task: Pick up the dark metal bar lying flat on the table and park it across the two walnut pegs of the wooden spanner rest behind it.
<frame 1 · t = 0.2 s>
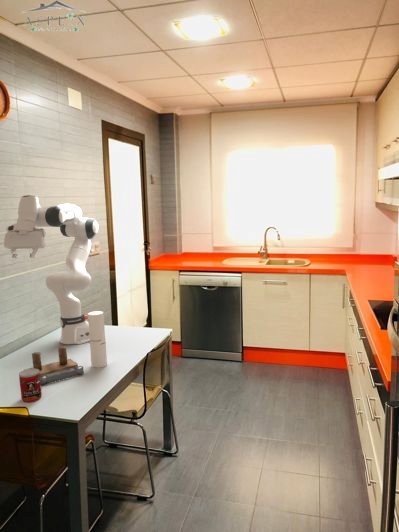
hand: (23, 257, 209), 52 cm above the table, tool tilted 20°, fingers open, 8 cm apart
canned food: (31, 398, 180), on the table
spanner rest: (51, 369, 210), on the table
metal bar: (61, 378, 199), on the table
cylindrical container: (99, 364, 214), on the table
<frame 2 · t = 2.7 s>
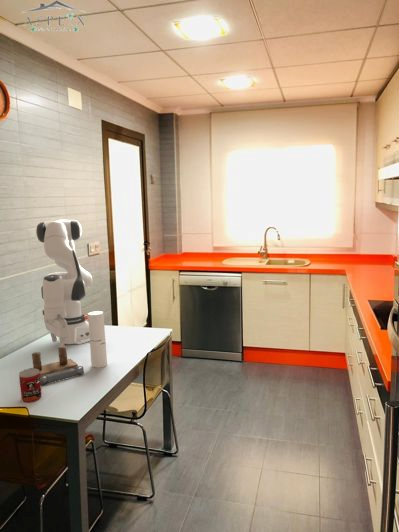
hand: (58, 344, 196), 16 cm above the table, tool pointing down, fingers open, 8 cm apart
nothing on the table moved.
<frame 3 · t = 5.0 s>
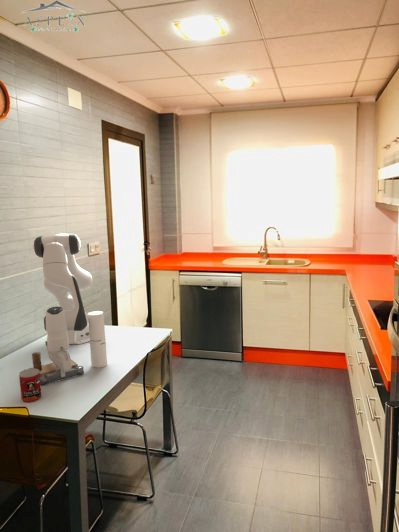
hand: (61, 374, 198), 2 cm above the table, tool pointing down, fingers closed on metal bar, 3 cm apart
metal bar: (61, 378, 199), on the table, touching gripper
everything else where it was.
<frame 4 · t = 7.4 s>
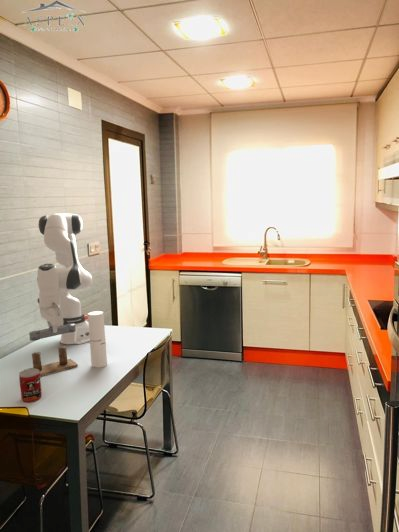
hand: (53, 331, 202), 20 cm above the table, tool pointing down, fingers closed on metal bar, 3 cm apart
metal bar: (53, 334, 202), point 18 cm above the table, touching gripper
everything else where it was.
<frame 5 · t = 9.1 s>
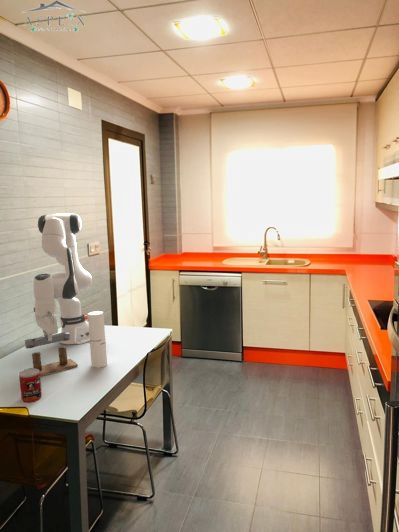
hand: (48, 339, 208), 15 cm above the table, tool pointing down, fingers closed on metal bar, 3 cm apart
metal bar: (48, 342, 208), point 13 cm above the table, touching gripper
everything else where it was.
when the fingers open (12 cm above the table, at t = 10.2 s): metal bar drops 1 cm, resting on spanner rest.
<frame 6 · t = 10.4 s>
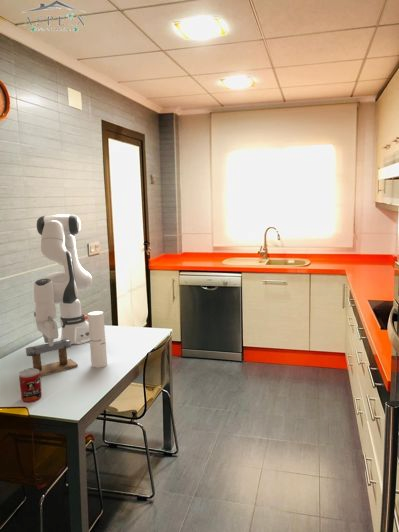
hand: (48, 344, 208), 12 cm above the table, tool pointing down, fingers open, 5 cm apart
metal bar: (49, 350, 209), point 9 cm above the table, touching spanner rest
everything else where it was.
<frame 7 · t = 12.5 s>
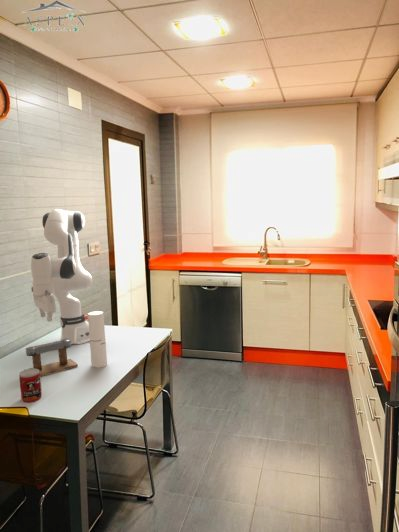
hand: (46, 318, 207), 24 cm above the table, tool pointing down, fingers open, 8 cm apart
nothing on the table moved.
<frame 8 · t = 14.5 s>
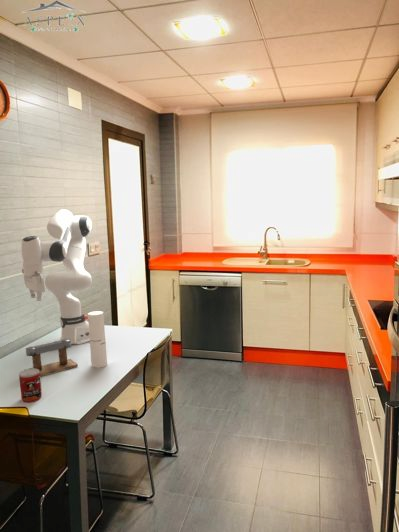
hand: (36, 299, 216), 31 cm above the table, tool pointing down, fingers open, 8 cm apart
nothing on the table moved.
at the end: metal bar 0.1 cm off-centre on the spanner rest, point 9.2 cm above the spanner rest's base; metal bar tilted 0°; the gripper is holding nothing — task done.
